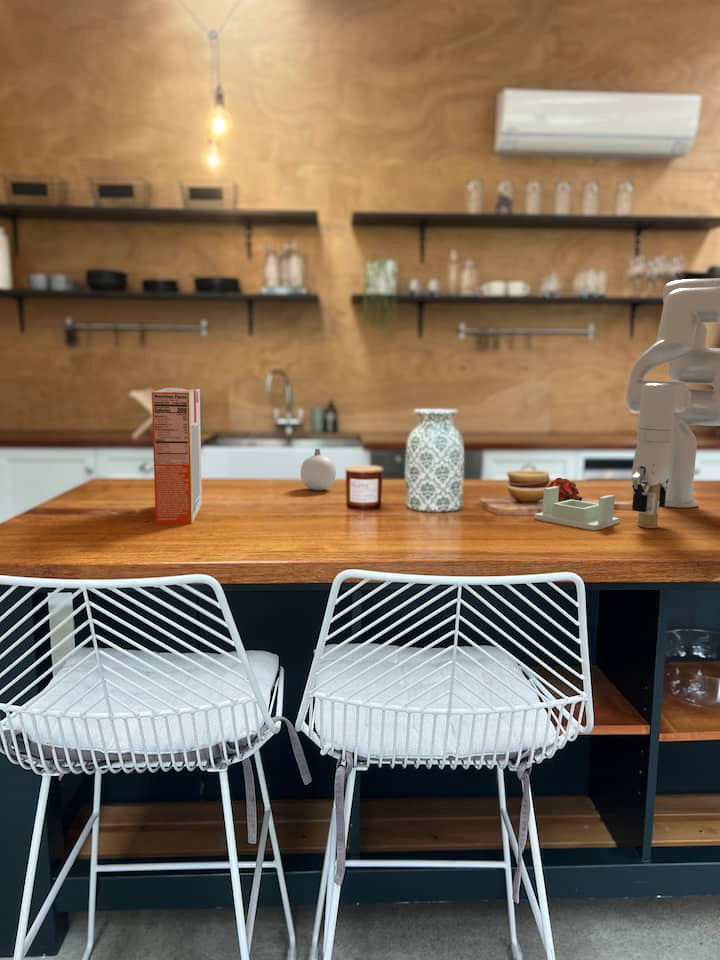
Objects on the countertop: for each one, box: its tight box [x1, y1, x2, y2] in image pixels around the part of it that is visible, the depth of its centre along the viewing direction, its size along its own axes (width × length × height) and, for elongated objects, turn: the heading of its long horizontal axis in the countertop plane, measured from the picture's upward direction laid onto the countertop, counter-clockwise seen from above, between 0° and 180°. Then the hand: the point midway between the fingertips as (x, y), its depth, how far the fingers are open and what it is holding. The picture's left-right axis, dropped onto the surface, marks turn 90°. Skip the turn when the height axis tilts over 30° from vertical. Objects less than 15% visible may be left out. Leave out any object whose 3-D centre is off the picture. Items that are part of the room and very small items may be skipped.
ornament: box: [300, 448, 337, 491], centre depth 211 cm, size 10×10×12 cm
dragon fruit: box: [546, 477, 583, 502], centre depth 192 cm, size 8×8×12 cm
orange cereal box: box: [151, 387, 203, 525], centre depth 175 cm, size 23×8×30 cm, turn 6°
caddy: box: [534, 486, 620, 532], centre depth 176 cm, size 12×16×7 cm
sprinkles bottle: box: [636, 477, 662, 529], centre depth 171 cm, size 5×5×14 cm
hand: (648, 508), depth 171 cm, fingers open, 9 cm apart
